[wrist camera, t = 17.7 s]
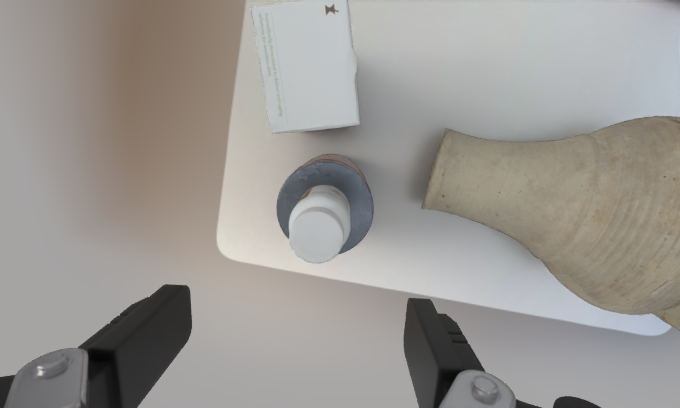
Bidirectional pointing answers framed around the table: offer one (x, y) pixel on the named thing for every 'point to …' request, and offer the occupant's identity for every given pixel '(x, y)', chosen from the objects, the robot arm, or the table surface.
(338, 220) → the pill bottle
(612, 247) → the vase
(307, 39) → the cosmetic box
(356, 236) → the tin can
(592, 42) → the table surface
